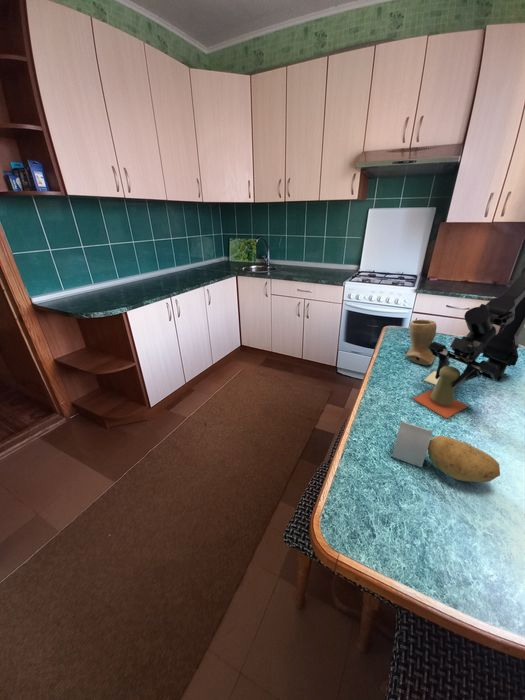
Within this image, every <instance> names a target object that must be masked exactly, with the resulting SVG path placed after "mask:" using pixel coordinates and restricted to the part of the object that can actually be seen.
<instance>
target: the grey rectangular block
mask: <svg viewBox="0 0 525 700" xmlns="http://www.w3.org/2000/svg"><path fill="white" fill-rule="evenodd" d="M396 434H397V435H396V438H395V442H394V446H393V450H392V455H391V457H392V458H394V459H397V460H399V461H403V462H405V463H408V464H411V465H413V466H415V467H419V468H423V465H424V462H425V459H426V456H427V454H428V447H429V443H430V440H431V439H432V435H433V430H432V429H428V428H426V427H422V426H420V425H416V424H412V423H409V422H405V421H403V420H400V423H399V428H398V431H397V433H396Z"/></svg>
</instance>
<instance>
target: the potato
mask: <svg viewBox="0 0 525 700" xmlns="http://www.w3.org/2000/svg"><path fill="white" fill-rule="evenodd" d="M427 454H428V456H429V459H430V460H431V462H432V463H433V464H434V466H435V467H436V468H437V469H439V471H441V472H442V473H444V474H446V475H447V476H449V477H451V478H453V479H454V480H458V481H462V482H473V483H475V482H476V483H487V482H489V483H490V482H492V481H493V480H495V479H496V478H498V477H500V476H501V470H500V469H501V468H500V463H499V462H498V461H497V460H496V459H495V458H494V457H493V456H492V455H490V454H489V453H486V452H485V451H483V450H481V449H479V448H478V447H476V446H473V445H471V444H469V443H467V442H464V441H462V440H459V439H455V438H453V437H450V436H445V435H441V434H440V435H435V436H434V437H433V438H432V437H431V439H430V443H429V447H428V450H427Z"/></svg>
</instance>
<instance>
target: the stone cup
mask: <svg viewBox="0 0 525 700" xmlns="http://www.w3.org/2000/svg"><path fill="white" fill-rule="evenodd" d="M408 333H409V339H410V347H409V349H408V350H407V352H406V354H405V358H407V359H408V360H410V361H412V362H413V363H415V364H418V365H424V366H429V365H432V364H433V362H434V360H435V358H436V356H434V355H433V354H432V353H431V351H430V350H429V348H428V346H429V345H430V344H431V343H432V342H434V339H435V337H436V335H437V334H436V333H437V323H436V321H434V320H431V319H414V320H411V321H410V322H409V328H408Z"/></svg>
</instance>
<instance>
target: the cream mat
mask: <svg viewBox="0 0 525 700" xmlns="http://www.w3.org/2000/svg"><path fill="white" fill-rule="evenodd" d="M436 373H437V370H434V371H432V372H431V373H430V374H429V375H427V376H426V377H425V378H424V379H423V382H425V383H427V384H430V385H433V386H436V384H437V382H438V380H439V378H440V377H439V378H438V379H436V378H435V376H436ZM455 388H457V386H456V387H455Z"/></svg>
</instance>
